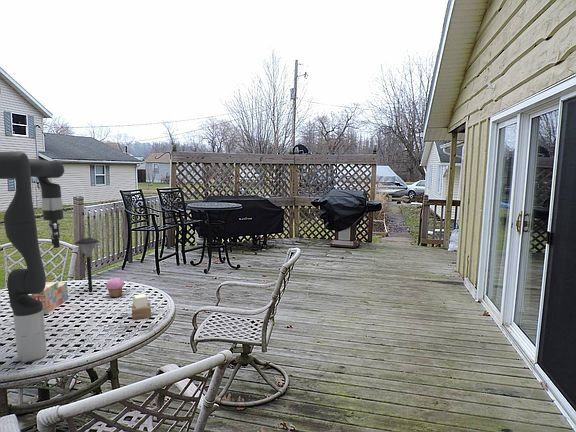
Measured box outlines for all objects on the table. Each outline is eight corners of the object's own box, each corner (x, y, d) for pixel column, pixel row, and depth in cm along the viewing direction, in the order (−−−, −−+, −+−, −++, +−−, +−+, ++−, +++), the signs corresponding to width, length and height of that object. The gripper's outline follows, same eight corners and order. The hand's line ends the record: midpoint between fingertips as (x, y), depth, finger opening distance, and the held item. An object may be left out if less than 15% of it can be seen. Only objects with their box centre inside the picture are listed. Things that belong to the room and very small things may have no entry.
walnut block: (150, 318, 185) (150, 307, 184) (132, 320, 182) (131, 309, 182) (150, 312, 192) (150, 302, 192) (133, 314, 190) (132, 304, 189)
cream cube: (147, 306, 186) (147, 296, 185) (136, 308, 183) (135, 298, 182) (145, 303, 190) (144, 293, 189) (134, 305, 187) (133, 295, 187)
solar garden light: (104, 287, 230) (100, 236, 226) (101, 294, 219) (97, 240, 215) (80, 289, 226) (76, 237, 223) (76, 296, 215) (72, 241, 211)
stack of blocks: (56, 299, 210) (54, 276, 209) (68, 299, 211) (66, 276, 209) (33, 314, 189) (30, 289, 188) (46, 314, 190) (44, 289, 188)
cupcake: (127, 293, 219) (126, 276, 218) (119, 299, 210) (118, 280, 209) (112, 293, 220) (111, 275, 219) (103, 298, 211) (102, 280, 210)
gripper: (41, 207, 173) (44, 244, 175) (43, 210, 161) (46, 249, 163) (61, 206, 177) (63, 242, 179) (64, 209, 165) (67, 247, 167)
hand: (55, 245), depth 171 cm, fingers open, 8 cm apart
